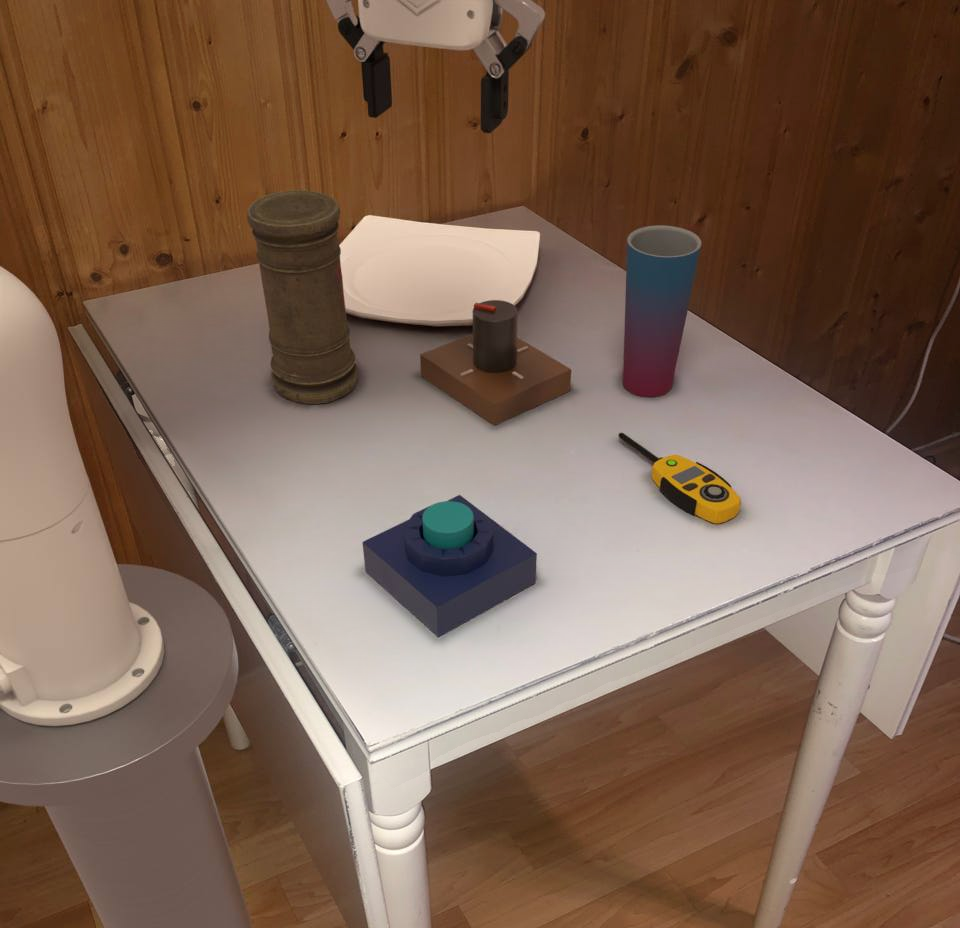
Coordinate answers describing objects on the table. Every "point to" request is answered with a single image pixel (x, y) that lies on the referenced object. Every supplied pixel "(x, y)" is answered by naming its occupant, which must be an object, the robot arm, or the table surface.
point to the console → (495, 379)
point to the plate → (432, 270)
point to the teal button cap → (448, 525)
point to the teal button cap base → (449, 570)
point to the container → (304, 295)
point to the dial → (495, 335)
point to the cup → (656, 305)
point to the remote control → (692, 486)
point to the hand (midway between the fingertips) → (435, 120)
